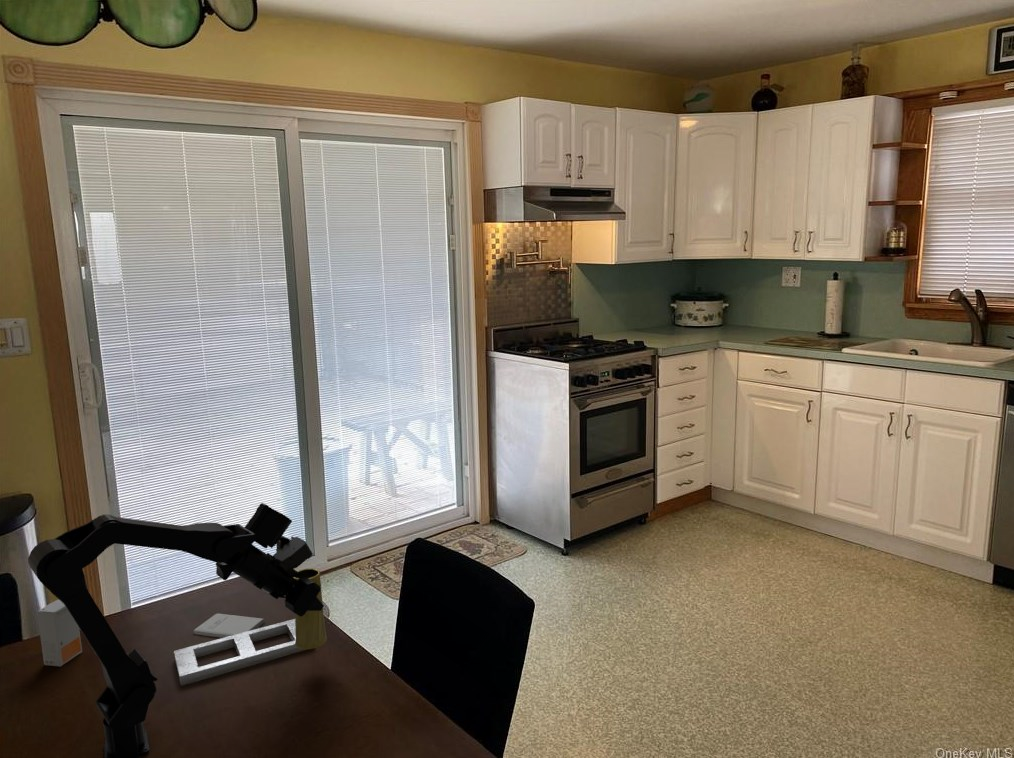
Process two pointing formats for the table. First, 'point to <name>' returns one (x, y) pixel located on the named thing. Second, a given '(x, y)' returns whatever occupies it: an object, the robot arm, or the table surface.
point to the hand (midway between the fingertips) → (314, 603)
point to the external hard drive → (227, 625)
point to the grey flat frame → (243, 647)
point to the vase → (310, 617)
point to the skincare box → (58, 634)
